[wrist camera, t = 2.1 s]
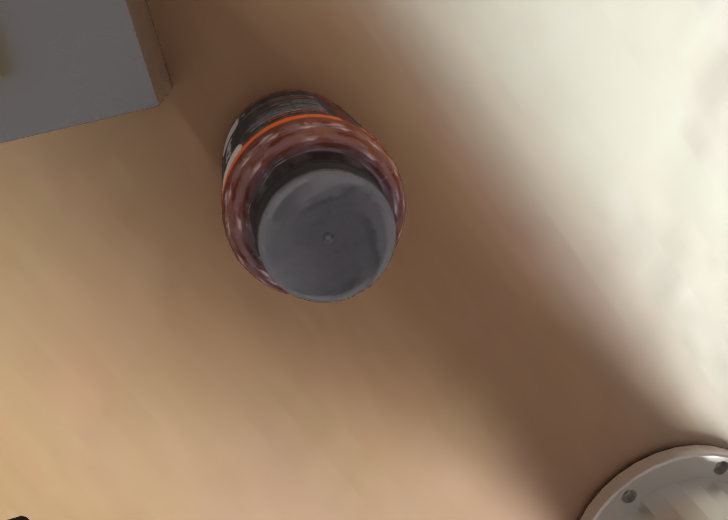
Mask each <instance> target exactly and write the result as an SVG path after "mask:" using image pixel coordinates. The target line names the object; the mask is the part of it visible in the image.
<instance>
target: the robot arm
mask: <svg viewBox="0 0 728 520" xmlns="http://www.w3.org/2000/svg"><path fill="white" fill-rule="evenodd" d="M9 520H29V519H28V518H27V517H24V516H19V517H16V518H12V519H9ZM580 520H728V450H727V449H723V448H719V447H715V446H707V445H689V446H682V447H674V448H671V449H668V450H665V451H661V452H658V453H655V454H653V455H651V456H649V457H646V458H644V459H642V460H640V461H638V462H636V463H634V464H633V465H631V466H630V467H628V468H627V469H625V470H624V471H622V472H621V473H619V474H618V475H617V476H616V477H614V478H613V479H612V480H611V481H610V482H609V483H608V484H607V485H606V486H605V487H603V488H602V489H601V491H600V492H599V493H598V494H597V495H596V497H595V498H594V499H593V500H592V502H591V503H590V504H589V505H588V507H587V509H586V510H585V512H584V514H583V516H582V517H581V519H580Z"/></svg>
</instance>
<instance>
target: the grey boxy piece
mask: <svg viewBox="0 0 728 520" xmlns="http://www.w3.org/2000/svg"><path fill="white" fill-rule="evenodd" d="M172 88H173V87H172V84H171V81H170V78H169V74H168V71H167V68H166V64H165V61H164V58H163V55H162V51H161V48H160V45H159V41H158V38H157V35H156V32H155V28H154V25H153V22H152V19H151V15H150V12H149V9H148V5H147V2H146V0H0V143H3V142H7V141H12V140H16V139H20V138H24V137H29V136H33V135H37V134H41V133H45V132H50V131H54V130H58V129H62V128H67V127H71V126H75V125H79V124H84V123H88V122H92V121H96V120H100V119H105V118H109V117H113V116H117V115H122V114H126V113H130V112H134V111H138V110H143V109H147V108H151V107H155V106H159V105H160V103H161V102H162V101H163V100H164V98H165V97H166V96H167V95H168V93H169V92H170V91H171V90H172Z"/></svg>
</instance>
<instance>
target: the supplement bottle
mask: <svg viewBox="0 0 728 520" xmlns="http://www.w3.org/2000/svg"><path fill="white" fill-rule="evenodd" d="M405 206H406V203H405V193H404V188H403V183H402V180H401V177H400V174H399V172H398V169H397V167H396V165H395V163H394V162H393V160H392V158H391V156H390V155H389V154H388V152H387V151H386V149H385V148H384V147H383V146H382V145H381V144H380V143H379V142H378V141H377V140H376V139H375V138H374V137H373V136H372V135H371V134H370V133H369V132H368V131H366V130H365V129H364V128H363V127H362V126H361V125H359V123H357V122H356V121H355V120H354V119H353V118H352V117H350V116H349V115H348V114H347V113H346V112H345V111H343V110H342V109H341V108H340V107H339V106H337V105H335V104H334V103H332V102H330V101H329V100H327V99H325V98H323V97H321V96H319V95H316V94H313V93H311V92H306V91H281V92H276V93H273V94H270V95H267V96H265V97H262V98H260V99H258V100H256V101H255V102H253V103H252V104H251V105H250V106H248V107H247V108H246V109H245V110H244V111H243V112H242V113H241V114H240V116H239V117H238V118H237V119H236V121H235V122H234V124H233V125H232V127H231V129H230V131H229V134H228V136H227V139H226V142H225V146H224V151H223V158H222V215H223V223H224V228H225V232H226V236H227V238H228V240H229V243H230V246H231V248H232V250H233V252H234V253H235V255H236V257H237V259H238V261H239V262H240V263H241V264H242V265H243V266H244V267H245V268H246V269H247V270H248V271H249V272H250V273H251V274H252V275H253V276H254V277H255V278H257V279H258V280H259V281H261V282H262V283H264V284H265V285H267V286H268V287H271V288H273V289H275V290H277V291H279V292H283V293H286V294H291V295H294V296H296V297H298V298H301V299H305V300H308V301H314V302H335V301H342V300H345V299H348V298H350V297H353V296H355V295H356V294H358V293H360V292H362V291H363V290H365V289H366V288H368V287H370V286H371V285H372V284H373V283H374V282H375V281H376V280H377V279H378V278H379V277H380V275H381V274H382V273H383V272H384V270H385V269H386V267H387V265H388V263H389V261H390V259H391V257H392V254H393V250H394V248H395V246H396V244H397V243H398V240H399V238H400V236H401V233H402V229H403V225H404V218H405V211H406V207H405Z"/></svg>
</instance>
